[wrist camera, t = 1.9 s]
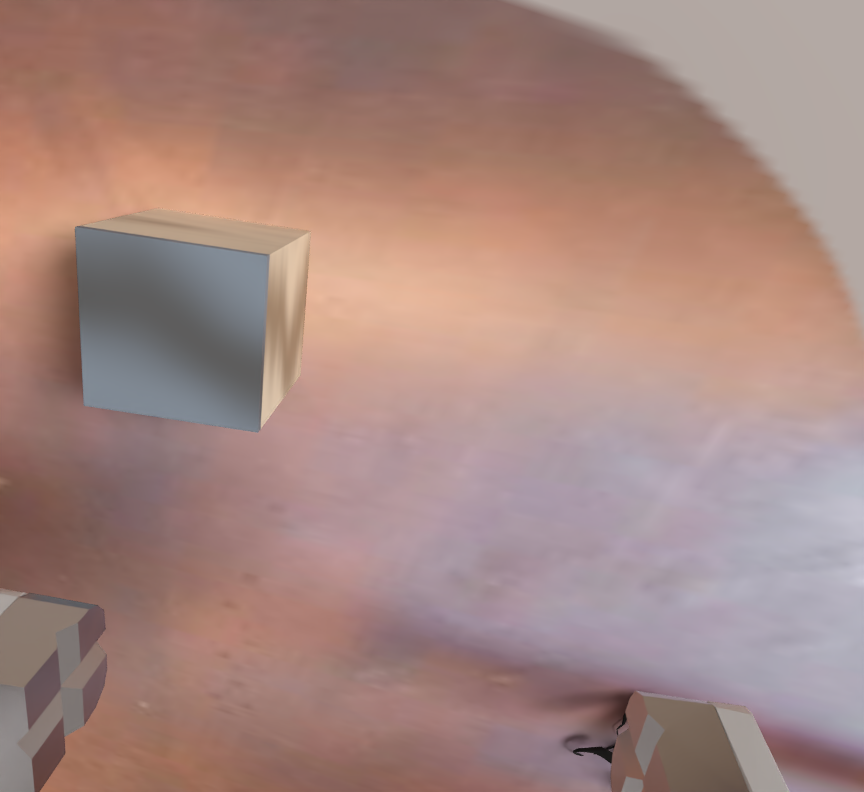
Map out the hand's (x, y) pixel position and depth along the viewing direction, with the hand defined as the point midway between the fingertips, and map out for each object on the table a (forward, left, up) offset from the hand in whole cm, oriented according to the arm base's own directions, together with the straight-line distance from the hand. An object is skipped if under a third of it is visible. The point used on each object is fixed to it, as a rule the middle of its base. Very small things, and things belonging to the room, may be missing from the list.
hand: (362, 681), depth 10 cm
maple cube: (0, +8, -19) cm, 21 cm away
